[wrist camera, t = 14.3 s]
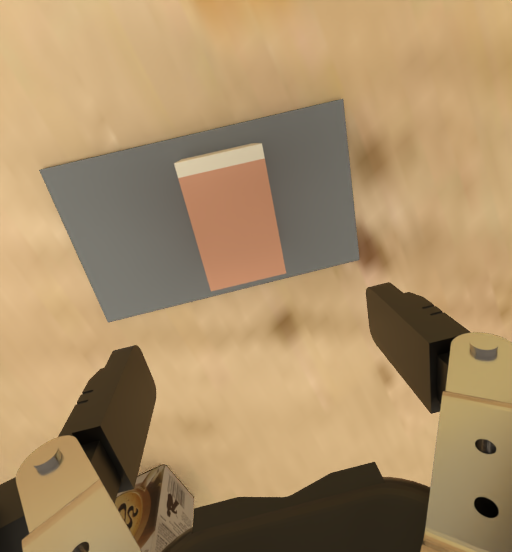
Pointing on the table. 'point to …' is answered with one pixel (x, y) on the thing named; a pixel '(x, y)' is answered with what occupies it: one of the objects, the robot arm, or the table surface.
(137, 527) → the brown food box
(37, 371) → the table surface
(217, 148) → the mat
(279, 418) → the table surface
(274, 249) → the block
